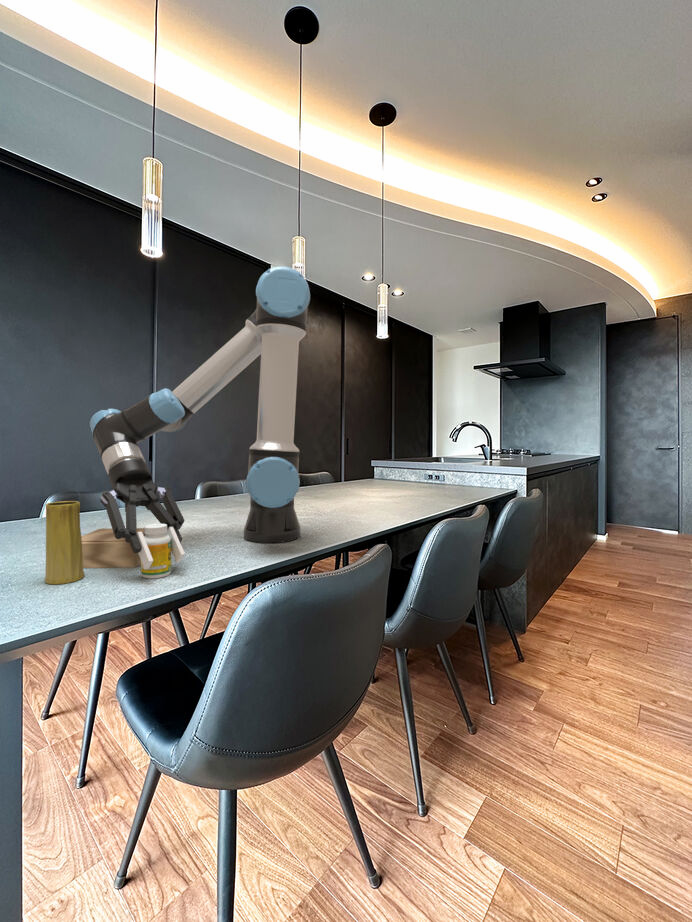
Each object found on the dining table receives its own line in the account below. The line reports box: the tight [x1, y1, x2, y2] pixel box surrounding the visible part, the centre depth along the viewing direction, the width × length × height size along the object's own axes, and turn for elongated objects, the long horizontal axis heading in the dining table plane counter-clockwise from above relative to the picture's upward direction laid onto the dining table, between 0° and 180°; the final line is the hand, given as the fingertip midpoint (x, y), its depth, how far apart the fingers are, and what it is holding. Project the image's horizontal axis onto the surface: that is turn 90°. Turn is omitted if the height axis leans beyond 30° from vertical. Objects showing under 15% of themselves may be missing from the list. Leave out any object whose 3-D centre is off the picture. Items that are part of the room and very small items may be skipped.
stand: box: [81, 527, 146, 569], centre depth 91 cm, size 14×14×5 cm
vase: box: [44, 500, 85, 585], centre depth 77 cm, size 6×6×14 cm
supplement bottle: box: [140, 523, 172, 580], centre depth 80 cm, size 5×5×10 cm
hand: (165, 561), depth 78 cm, fingers closed on supplement bottle, 5 cm apart
